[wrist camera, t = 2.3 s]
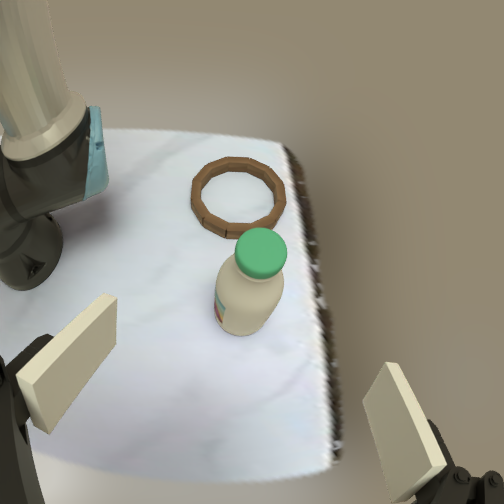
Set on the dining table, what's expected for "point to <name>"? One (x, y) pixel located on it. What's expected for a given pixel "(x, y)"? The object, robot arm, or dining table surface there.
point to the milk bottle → (250, 282)
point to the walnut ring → (236, 165)
